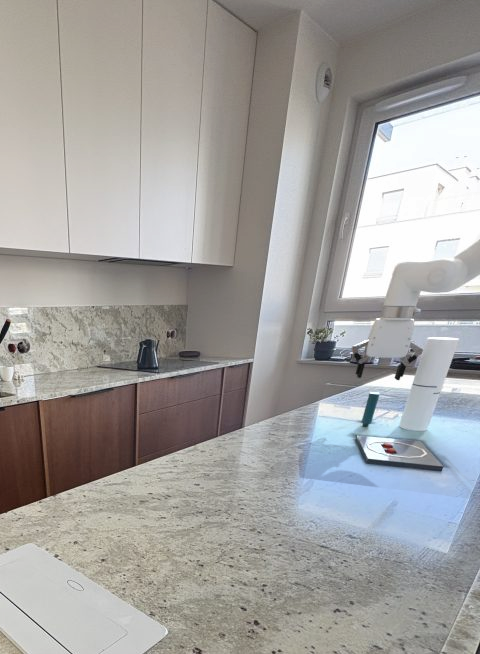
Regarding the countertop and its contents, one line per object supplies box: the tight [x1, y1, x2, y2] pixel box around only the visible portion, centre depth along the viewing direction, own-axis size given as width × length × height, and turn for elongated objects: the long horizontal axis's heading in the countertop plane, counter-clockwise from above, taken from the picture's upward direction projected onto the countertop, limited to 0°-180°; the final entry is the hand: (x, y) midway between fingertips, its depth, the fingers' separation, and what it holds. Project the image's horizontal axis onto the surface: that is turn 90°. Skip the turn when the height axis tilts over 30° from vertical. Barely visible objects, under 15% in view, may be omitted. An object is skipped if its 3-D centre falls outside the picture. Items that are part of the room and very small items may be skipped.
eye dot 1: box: [383, 443, 392, 448], centre depth 108 cm, size 2×2×1 cm
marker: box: [360, 391, 380, 428], centre depth 126 cm, size 3×3×10 cm
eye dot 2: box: [386, 448, 395, 453], centre depth 105 cm, size 2×2×1 cm
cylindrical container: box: [398, 336, 460, 432], centre depth 121 cm, size 7×7×25 cm
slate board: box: [355, 435, 444, 472], centre depth 106 cm, size 15×20×1 cm
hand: (377, 378), depth 122 cm, fingers open, 9 cm apart
